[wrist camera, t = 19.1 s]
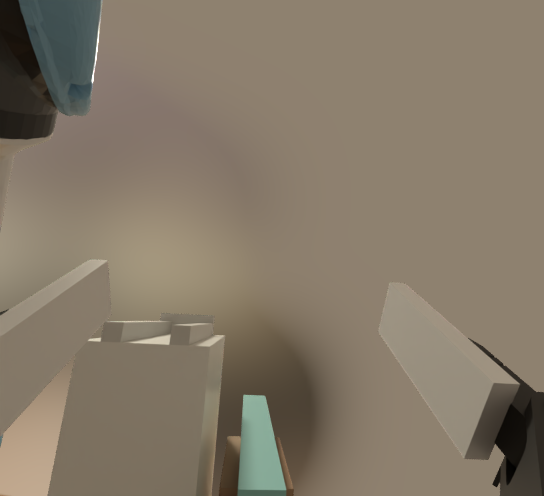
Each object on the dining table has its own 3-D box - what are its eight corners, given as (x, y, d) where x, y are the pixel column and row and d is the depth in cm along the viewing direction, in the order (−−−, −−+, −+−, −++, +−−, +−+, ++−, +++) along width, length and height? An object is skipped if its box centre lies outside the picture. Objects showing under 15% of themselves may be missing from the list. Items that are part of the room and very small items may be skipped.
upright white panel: (-40, 936, 16) (84, 307, 23) (107, 620, 32) (151, 312, 40) (155, 919, 16) (213, 314, 24) (200, 618, 33) (226, 316, 41)
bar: (234, 548, 18) (238, 489, 18) (242, 418, 41) (243, 394, 42) (284, 548, 18) (286, 490, 19) (263, 419, 41) (265, 395, 42)
